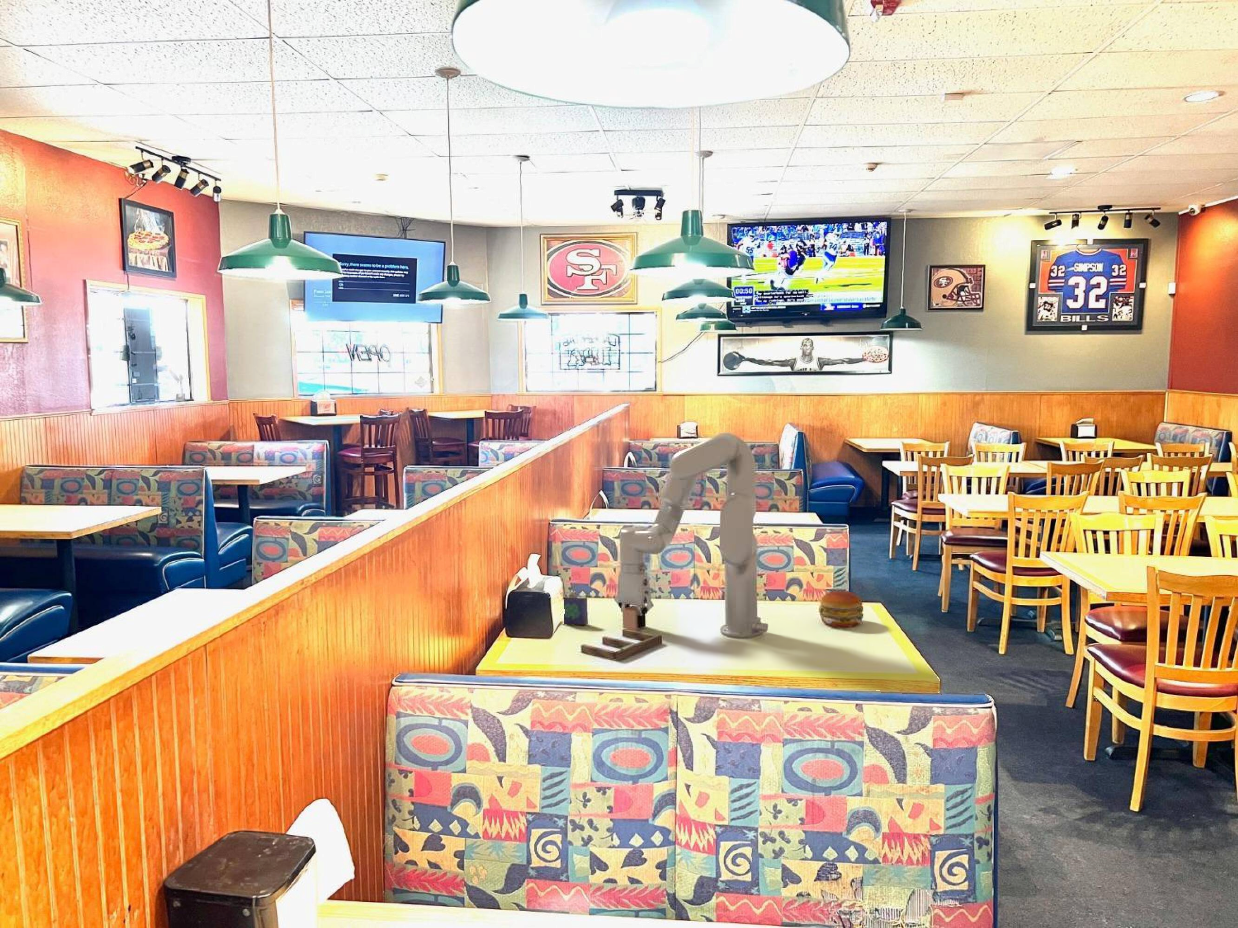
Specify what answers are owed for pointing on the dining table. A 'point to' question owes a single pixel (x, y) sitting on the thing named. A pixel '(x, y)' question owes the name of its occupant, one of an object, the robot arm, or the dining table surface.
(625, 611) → the block
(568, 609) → the dark blue pouch
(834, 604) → the burger
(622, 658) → the comb rack
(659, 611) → the dining table surface
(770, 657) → the dining table surface
